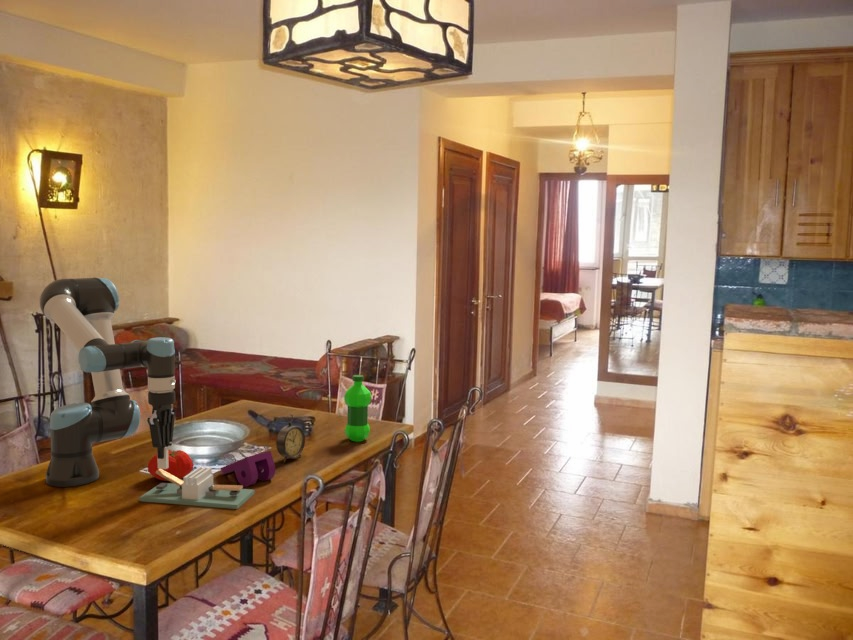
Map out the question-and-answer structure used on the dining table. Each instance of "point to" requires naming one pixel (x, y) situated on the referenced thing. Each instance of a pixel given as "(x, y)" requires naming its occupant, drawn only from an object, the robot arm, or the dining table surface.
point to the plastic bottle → (357, 410)
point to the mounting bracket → (252, 468)
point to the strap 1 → (170, 477)
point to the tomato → (173, 465)
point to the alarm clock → (290, 441)
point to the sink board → (203, 501)
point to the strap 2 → (226, 487)
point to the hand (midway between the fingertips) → (163, 468)
